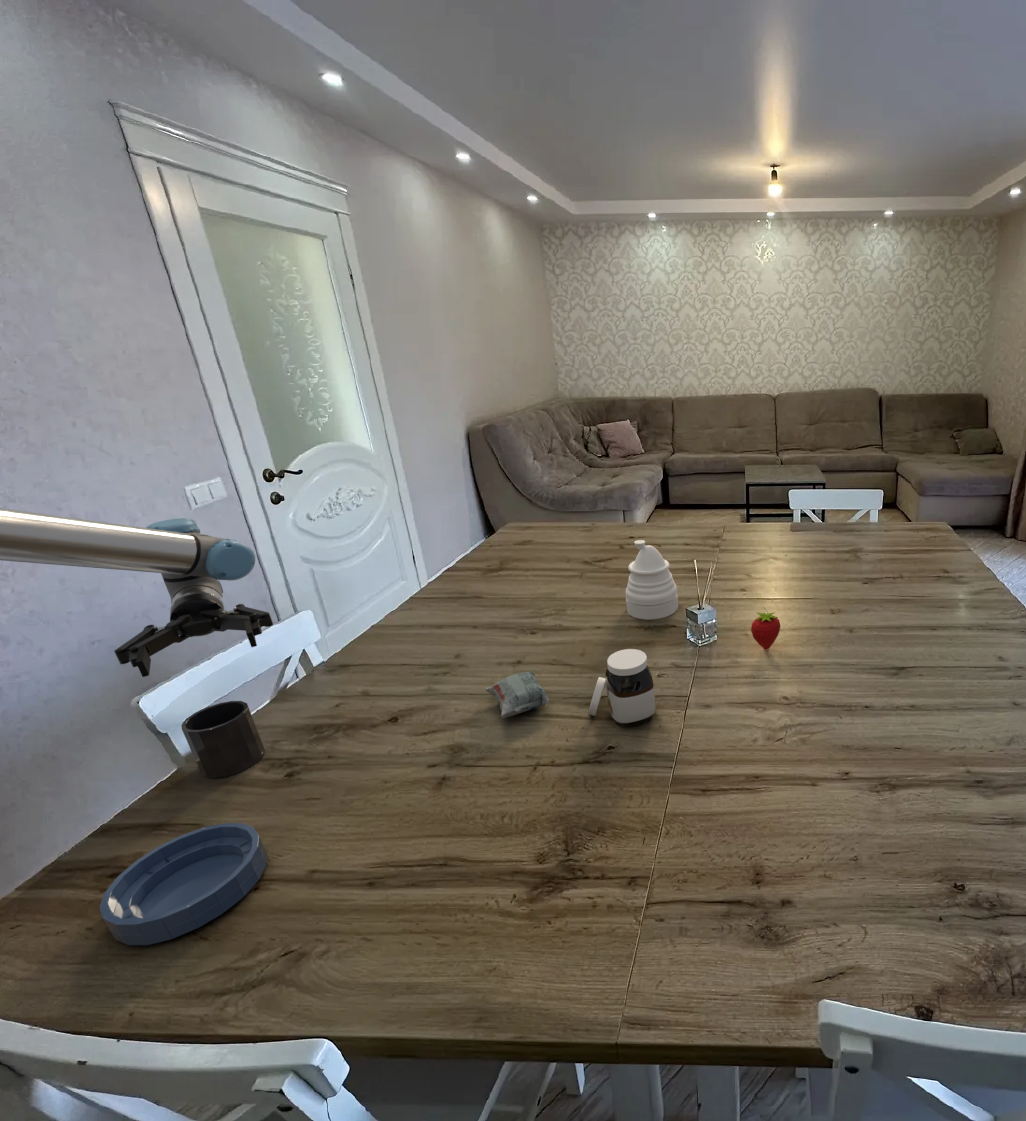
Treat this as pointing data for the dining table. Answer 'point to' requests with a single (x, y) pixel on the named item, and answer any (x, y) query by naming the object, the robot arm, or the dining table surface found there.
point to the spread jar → (626, 688)
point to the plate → (183, 884)
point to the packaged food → (518, 694)
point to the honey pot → (650, 585)
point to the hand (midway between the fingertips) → (199, 653)
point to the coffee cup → (223, 739)
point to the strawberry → (765, 629)
